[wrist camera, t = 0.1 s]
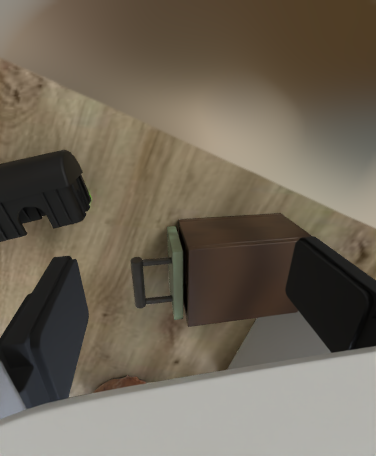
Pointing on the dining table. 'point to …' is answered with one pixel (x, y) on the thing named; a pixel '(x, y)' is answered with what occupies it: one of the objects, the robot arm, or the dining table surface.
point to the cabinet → (237, 267)
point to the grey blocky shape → (278, 341)
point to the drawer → (174, 275)
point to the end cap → (41, 192)
